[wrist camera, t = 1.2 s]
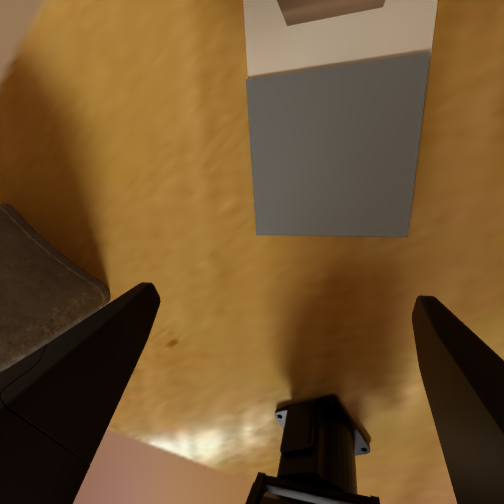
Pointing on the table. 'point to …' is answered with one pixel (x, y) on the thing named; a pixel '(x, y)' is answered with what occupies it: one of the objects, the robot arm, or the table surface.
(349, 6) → the walnut pillar
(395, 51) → the tile
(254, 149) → the mat
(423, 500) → the table surface
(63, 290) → the flask
